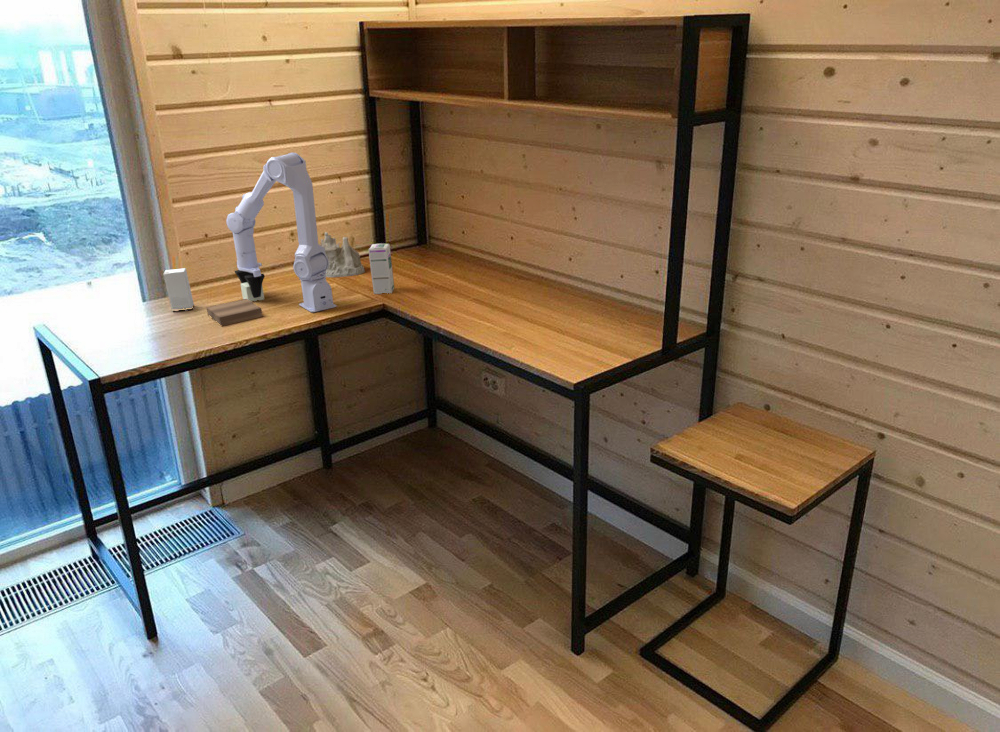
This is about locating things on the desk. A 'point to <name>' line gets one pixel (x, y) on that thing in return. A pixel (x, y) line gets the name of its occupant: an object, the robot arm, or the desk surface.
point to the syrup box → (381, 268)
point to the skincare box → (178, 288)
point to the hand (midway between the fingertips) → (252, 294)
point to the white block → (248, 294)
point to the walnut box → (234, 311)
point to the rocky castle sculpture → (341, 258)
